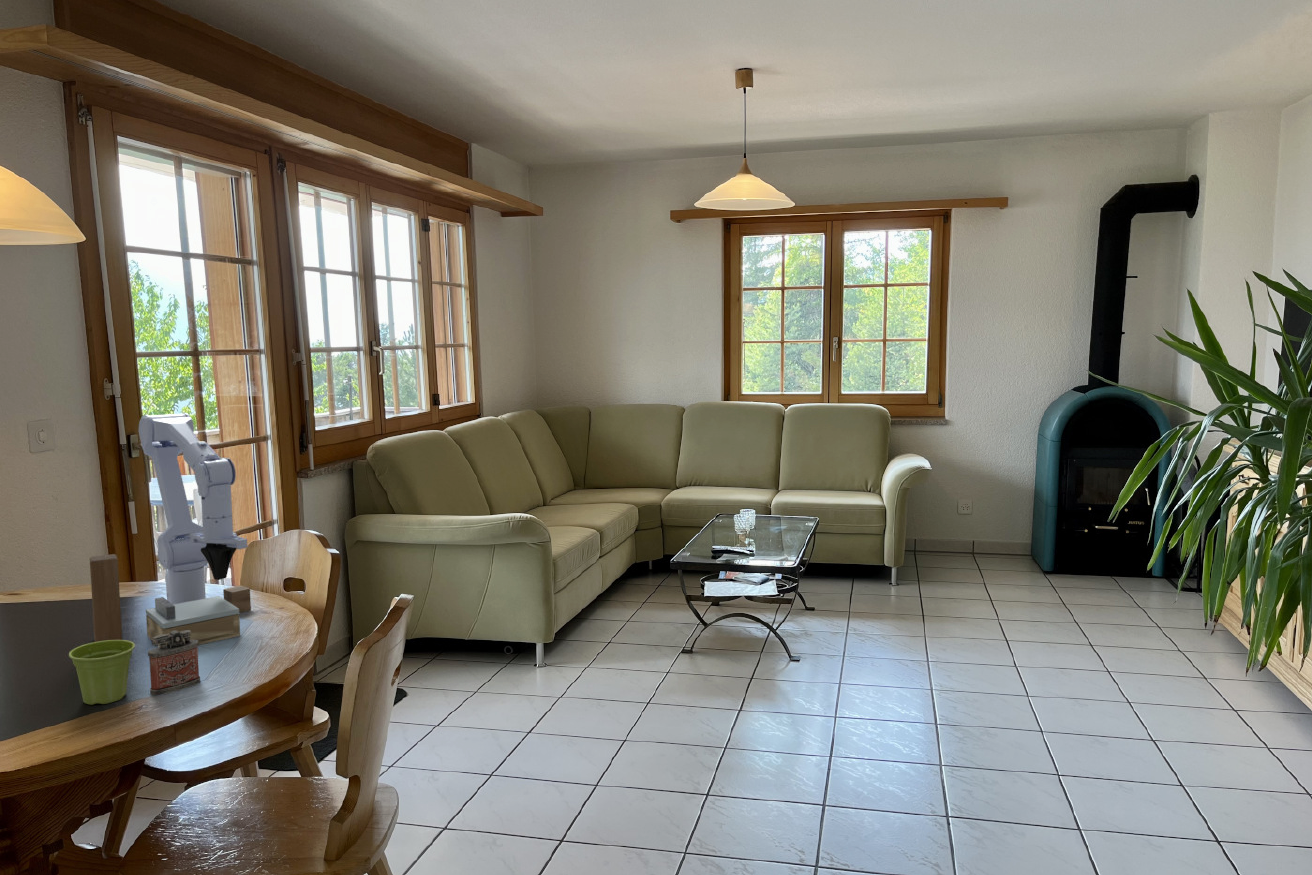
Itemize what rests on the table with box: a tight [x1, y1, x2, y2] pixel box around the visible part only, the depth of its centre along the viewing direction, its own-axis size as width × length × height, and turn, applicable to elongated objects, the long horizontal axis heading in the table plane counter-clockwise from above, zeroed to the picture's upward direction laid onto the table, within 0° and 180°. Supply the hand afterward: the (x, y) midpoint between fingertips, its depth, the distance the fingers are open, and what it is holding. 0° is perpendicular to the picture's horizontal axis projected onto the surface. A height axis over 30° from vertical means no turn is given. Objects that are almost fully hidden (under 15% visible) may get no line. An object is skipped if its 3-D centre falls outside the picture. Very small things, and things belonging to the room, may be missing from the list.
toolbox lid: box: [145, 595, 240, 629], centre depth 177 cm, size 12×14×4 cm
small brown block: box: [222, 584, 252, 614], centre depth 195 cm, size 4×4×5 cm
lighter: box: [147, 630, 201, 696], centre depth 152 cm, size 8×3×10 cm, turn 141°
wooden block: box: [89, 553, 123, 642], centre depth 173 cm, size 9×4×18 cm, turn 34°
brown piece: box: [145, 613, 241, 647], centre depth 178 cm, size 12×14×4 cm
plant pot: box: [68, 639, 136, 706], centre depth 147 cm, size 9×9×9 cm
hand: (220, 578), depth 186 cm, fingers closed
